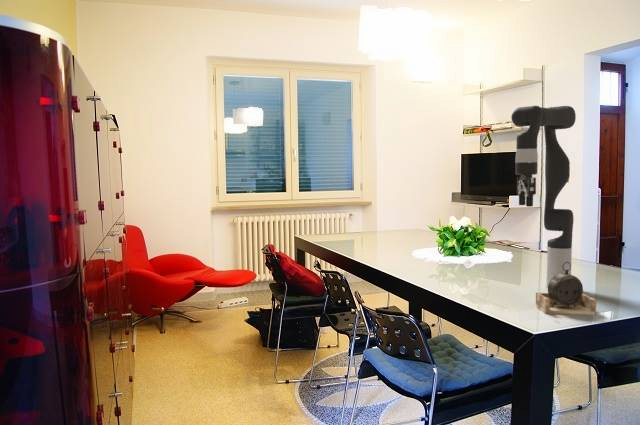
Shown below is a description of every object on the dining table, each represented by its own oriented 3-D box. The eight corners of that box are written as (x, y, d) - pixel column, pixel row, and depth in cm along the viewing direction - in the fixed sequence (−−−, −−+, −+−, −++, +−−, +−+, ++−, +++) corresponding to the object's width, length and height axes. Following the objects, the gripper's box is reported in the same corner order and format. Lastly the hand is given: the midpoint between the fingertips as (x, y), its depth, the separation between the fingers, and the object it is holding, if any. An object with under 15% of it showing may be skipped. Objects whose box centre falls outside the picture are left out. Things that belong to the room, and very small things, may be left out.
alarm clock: (575, 305, 179) (576, 260, 178) (585, 309, 174) (586, 262, 173) (546, 306, 178) (547, 261, 177) (555, 310, 173) (556, 263, 172)
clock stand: (535, 306, 182) (535, 292, 182) (583, 307, 181) (583, 293, 180) (545, 313, 172) (545, 299, 172) (595, 314, 171) (596, 300, 171)
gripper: (510, 162, 192) (509, 204, 193) (521, 161, 178) (521, 206, 179) (530, 162, 192) (529, 204, 193) (543, 160, 178) (543, 206, 179)
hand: (525, 205), depth 186 cm, fingers open, 8 cm apart
